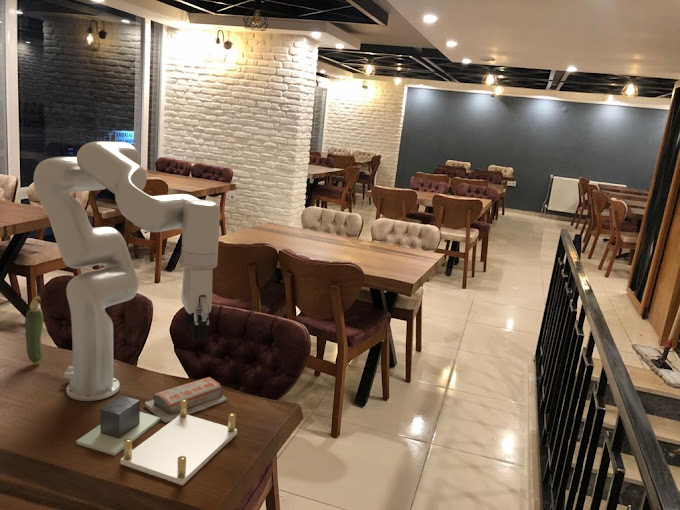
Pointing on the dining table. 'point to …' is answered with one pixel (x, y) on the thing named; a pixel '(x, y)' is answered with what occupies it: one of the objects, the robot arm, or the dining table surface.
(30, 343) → the vegetable
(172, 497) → the dining table surface
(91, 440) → the board
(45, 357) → the dining table surface
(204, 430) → the chassis
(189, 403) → the packaged product
